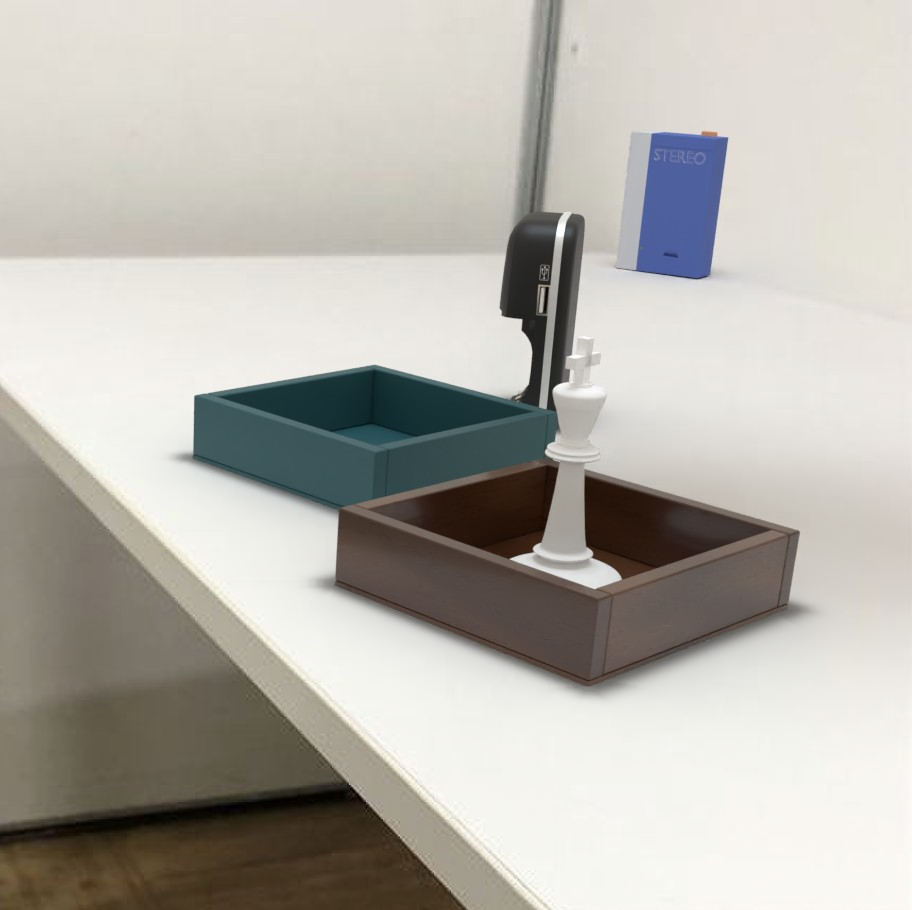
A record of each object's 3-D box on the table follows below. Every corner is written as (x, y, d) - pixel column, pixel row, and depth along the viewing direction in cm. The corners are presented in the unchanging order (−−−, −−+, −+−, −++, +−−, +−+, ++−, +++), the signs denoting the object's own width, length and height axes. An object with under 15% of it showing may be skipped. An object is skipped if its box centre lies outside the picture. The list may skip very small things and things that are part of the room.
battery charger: (501, 404, 95) (519, 204, 91) (566, 410, 94) (587, 208, 90) (485, 432, 89) (503, 219, 84) (555, 439, 88) (577, 224, 83)
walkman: (710, 275, 142) (729, 132, 137) (697, 278, 140) (716, 134, 135) (628, 264, 146) (644, 125, 142) (614, 267, 144) (630, 127, 140)
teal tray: (371, 429, 88) (374, 364, 87) (551, 483, 80) (558, 412, 78) (192, 465, 80) (193, 395, 79) (371, 530, 72) (375, 451, 71)
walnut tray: (537, 535, 72) (545, 457, 71) (786, 617, 63) (801, 530, 62) (333, 594, 64) (338, 507, 63) (586, 697, 56) (598, 599, 54)
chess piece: (470, 589, 63) (492, 335, 60) (541, 561, 67) (566, 319, 63) (577, 623, 60) (607, 358, 57) (646, 592, 64) (678, 340, 60)
